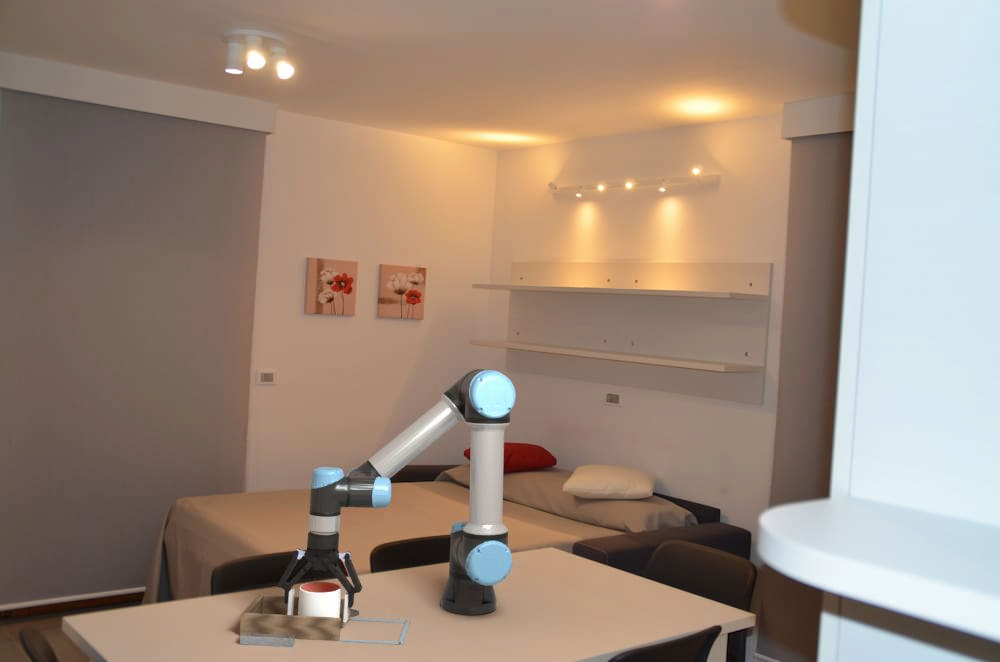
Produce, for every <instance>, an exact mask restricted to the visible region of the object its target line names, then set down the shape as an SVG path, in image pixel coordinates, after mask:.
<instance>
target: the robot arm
mask: <svg viewBox="0 0 1000 662" xmlns="http://www.w3.org/2000/svg"><path fill="white" fill-rule="evenodd" d="M516 393H517V392H516V388H515V386H514V384H513V382H512V381H511V379H510V378H509V377H508V376H506V375H505V374H503V373H502V372H500V371H497V370H492V369H489V370H488V369H481V368H479V369H474V370H473V369H472V370H470V371H468V372H467V373H465V374H464V375H463V376H461V377H460V378H459V379H458V380H457V381H456V382H455V383H454V384H453V385H451V386H450V387H449V388H448V389H447V390H446V391H445V392H443V393H442V394H441V398H440V401H439V400H438V402H437V403H435V405H433V406H432V407H431V408H429V409H428V410H427V411H426V412H425V413H423V414H422V415H421V416H420V417H419V418H417V419H416V420H415V421H414V422H413V423H411V424H410V425H408V427H406V428H405V429H404V430H402V432H400V433H399V434H398V435H396V436H395V437H394V438H393V439H392V440H391V441H389V442H388V443H387V444H385V446H383V447H382V448H380V449H379V450H378V451H377V452H376V453H374V454H373V455H372V456H371V457H370V458H368V459H367V460H366V461H365V462H363V463H362V464H361V465H360V466H358V467H354V468H352V469H351V470H349V472H348V473H347V474H346V475H345V473H344V471H343V469H342V468H340V467H333V466H320V467H316V468H314V469H313V472H312V476H311V485H310V498H309V499H310V500H309V513H308V528H307V529H308V530H309V532H308V533H307V542H306V550H301V549H300V548H296V549H295V550H293V553H292V557H291V561H290V562H289V564H288V566H287V567H286V569H285V571H284V572H283V575H281V578H280V579H279V581H278V582H277V586H276V587H278V588H279V589H283V590H284V595H283V596H284V603H285V604H288V614H287V615H293V606H294V596H295V592H296V591H295V588H293V586H295V585H296V583H297V582H298V581H299V580H300V579H302V577H303V576H304V575H305V574H306V573H307V572H308V571H309V570H310V569H312V570H314V571H320V570H321V571H324V572H327V571H329V570H330V572H331V573H332V574H333V575H334V576H335V577H336V579H337V580H338V582H339V583H340V584H341V586H342V587H343V588H344V590H345V591H346V592H345V594H344V599H345V604H344V619H343V620H342V621H343V623H347V622H348V621H347V620H348V615H349V608H351V609H352V607H354V604H355V602H354V601H355V594H358V593H361V591H362V590H363V585H362V583H361V581H360V578H359V575H358V574H357V571H356V568H355V566H354V564H353V562H352V552H351V551H347V552H339V544H340V541H339V540H340V533H339V531H340V529H341V527H340V526H341V512H342V511H341V510H342V508H361V509H362V508H364V509H368V508H369V509H379V508H388V507H389V506H390V503H391V500H392V483H391V482H392V481H391V480H390V479H391V478H392V477H393V476H395V475H396V474H397V473H399V471H401V470H402V469H403V468H404V467H406V466H407V465H408V464H409V463H410V462H412V461H413V460H414V459H416V458H417V457H418V456H419V455H420V454H422V453H423V452H424V451H425V450H427V448H429V447H430V446H431V445H432V444H434V443H435V442H436V441H438V440H439V439H440V438H441V437H442V436H443V435H444V434H446V433H447V432H448V431H450V430H451V429H452V428H453V427H455V425H457V424H458V423H465V424H466V425H467V426H468V427H469V429H470V455H469V456H470V457H469V458H470V459H469V460H470V461H469V463H470V464H469V466H470V467H469V503H468V504H469V505H468V506H469V508H468V509H469V513H468V515H469V519H468V520H467V521H465V520H464V521H455V522H453V524H452V525H451V531H450V535H449V536H450V546H449V547H450V548H449V565H448V569H449V570H448V578H447V582H446V583H445V587H444V589H443V592H442V594H441V596H440V597H441V598H440V607H441V608H442V609H443V610H445V611H447V612H450V613H453V614H456V615H457V614H458V615H466V616H468V615H469V616H471V615H472V616H476V615H485V614H490V613H493V612H494V611H496V609H497V595H496V592H495V589H494V585H498V584H499V583H501V582H503V581H504V580H505V579H506V578H507V577H508V576H509V574H510V573H511V570H512V567H513V564H514V563H513V555H512V551H511V549H510V548H509V528H508V527H507V526H506V525H505V524H504V523H503V511H504V510H503V508H504V507H503V505H504V504H503V502H504V501H503V500H504V460H505V459H504V458H505V457H504V452H505V448H504V447H505V429H506V428H507V427H508V426H509V425H511V411H512V410H513V408H514V405H515V403H516V399H517V397H516ZM303 557H304V558H305V560H306V561H307V564H305V565H304V566H303V568H301V569H300V571H298V572H297V574H296V575H295V576H294V577H292V579H291V580H290V581H289V582H287V581H288V579H289V576H290V575H291V574H292V572H293V570H294V568H295V566H297V563H298V562H299V560H301V559H302V558H303ZM339 559H340V560H341V562H342V563H344V565H345V568H346V570H347V573H348V575H349V578H350V580H351V582H352V583H351V582H350V580H349V579H348V578H347V575H345V573H344V572H343V571H342V570H341V568H340V566H339V564H338V563H337V562H338V561H339Z"/></svg>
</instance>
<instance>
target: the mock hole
mask: <svg viewBox="0 0 1000 662" xmlns="http://www.w3.org/2000/svg"><path fill="white" fill-rule="evenodd" d="M359 615H360V610H357V609H355V608H354V609H352V608H351V616H350V618H351V617H352V618H353V617H356V616H359Z"/></svg>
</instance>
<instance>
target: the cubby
mask: <svg viewBox="0 0 1000 662" xmlns="http://www.w3.org/2000/svg"><path fill="white" fill-rule="evenodd" d="M284 596H285V595H277V594H276V595H275V594H258V596H257V597H256V598H255V599H254V600H253V601H252V602H251V603H250V604H249V605H248V606H247V607H246V608H245V610H243V612H241V614H240V622H239V623H240V625H239V626H240V627H239V636H240V635H241V634H242V633H243V632H244V631H245V630H254V633H256V634H274V635H293V636H295V640H298V639H299V640H311V641H314V640H315V641H317V640H318V641H332V642H333V641H334V642H339V641H340V640H341V637H340V636H341V625H342V622H341V621H343V619H344V604H345V598H341V601H340V618H334V617H315V616H298V605H299V596H295V595H294V606H293V615H287V614H288V604H285V603H284ZM351 609H352V608H349V615H348V620H347V622H349V621H351V617H350V616H351Z"/></svg>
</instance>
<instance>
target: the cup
mask: <svg viewBox="0 0 1000 662" xmlns="http://www.w3.org/2000/svg"><path fill="white" fill-rule="evenodd" d="M341 586H342V585H339V584H337V583H334V582H329V581H328V582H327V581H315V582H314V581H312V582H306V583H303V584H301V585H300V586H299V589H298V591H299V593H298V597H299V605H298V616H315V617H334V618H340V601H341V599H342V587H341Z"/></svg>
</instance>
